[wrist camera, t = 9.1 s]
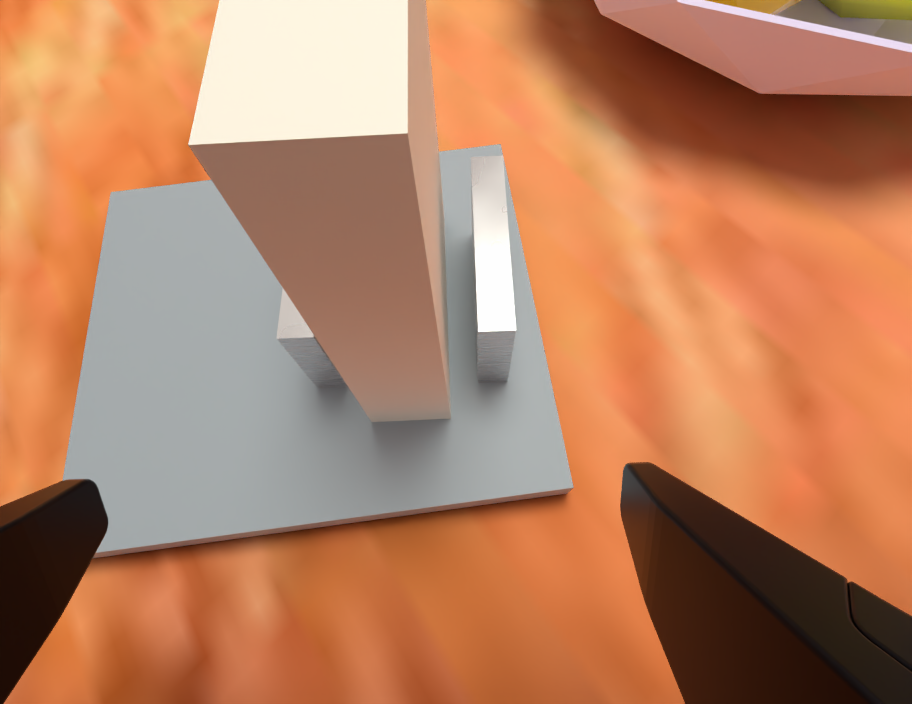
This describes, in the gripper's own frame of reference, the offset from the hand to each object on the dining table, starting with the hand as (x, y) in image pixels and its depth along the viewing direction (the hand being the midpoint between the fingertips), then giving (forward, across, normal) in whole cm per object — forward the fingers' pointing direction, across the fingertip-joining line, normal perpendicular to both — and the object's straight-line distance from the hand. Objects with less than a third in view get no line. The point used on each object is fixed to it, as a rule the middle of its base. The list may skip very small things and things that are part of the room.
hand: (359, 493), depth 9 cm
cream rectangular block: (+11, 0, 0) cm, 11 cm away
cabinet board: (+11, +4, +1) cm, 12 cm away
